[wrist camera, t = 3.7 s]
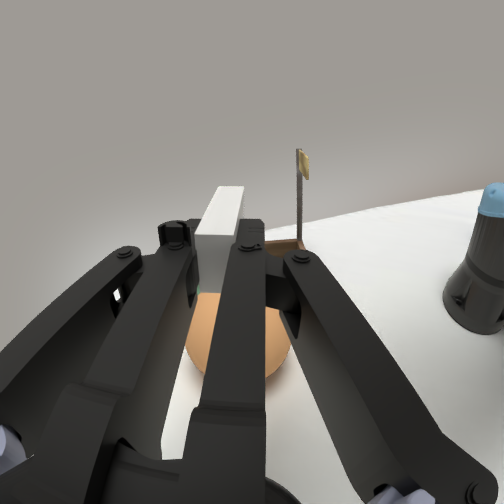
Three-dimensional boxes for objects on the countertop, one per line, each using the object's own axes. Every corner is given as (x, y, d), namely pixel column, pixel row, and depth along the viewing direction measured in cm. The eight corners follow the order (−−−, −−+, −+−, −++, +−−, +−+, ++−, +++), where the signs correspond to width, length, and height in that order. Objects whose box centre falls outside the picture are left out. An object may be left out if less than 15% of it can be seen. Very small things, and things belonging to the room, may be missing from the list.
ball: (236, 317, 44) (226, 247, 37) (308, 352, 37) (315, 279, 30) (177, 369, 36) (148, 300, 29) (251, 421, 29) (240, 361, 22)
